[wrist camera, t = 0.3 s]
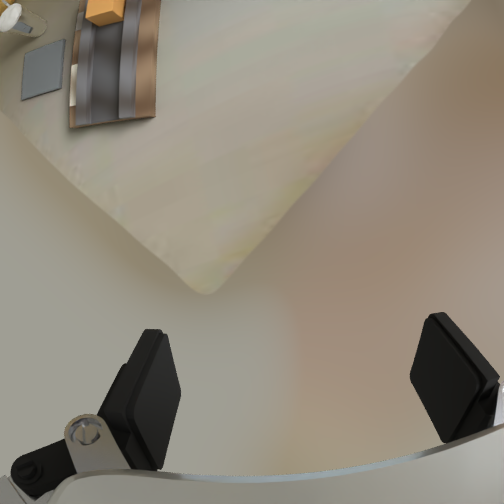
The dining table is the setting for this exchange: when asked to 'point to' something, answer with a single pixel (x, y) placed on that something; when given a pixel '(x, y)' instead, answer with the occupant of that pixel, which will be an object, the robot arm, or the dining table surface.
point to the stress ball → (1, 7)
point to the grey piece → (115, 66)
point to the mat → (43, 70)
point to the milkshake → (21, 21)
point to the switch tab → (105, 11)
